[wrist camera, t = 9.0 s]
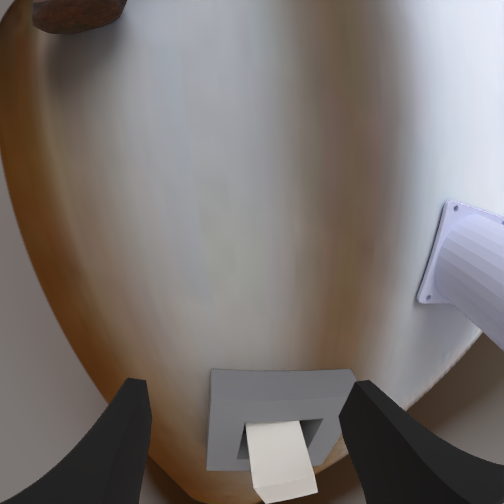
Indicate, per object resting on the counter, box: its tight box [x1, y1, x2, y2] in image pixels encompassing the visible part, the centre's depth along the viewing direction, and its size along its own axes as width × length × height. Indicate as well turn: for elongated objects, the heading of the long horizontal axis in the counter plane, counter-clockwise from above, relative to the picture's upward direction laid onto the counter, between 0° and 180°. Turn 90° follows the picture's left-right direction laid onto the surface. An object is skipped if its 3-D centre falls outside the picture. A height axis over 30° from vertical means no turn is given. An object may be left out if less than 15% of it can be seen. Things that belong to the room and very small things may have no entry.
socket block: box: [206, 369, 357, 471], centre depth 22 cm, size 11×11×3 cm
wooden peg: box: [245, 420, 318, 504], centre depth 19 cm, size 4×4×8 cm
